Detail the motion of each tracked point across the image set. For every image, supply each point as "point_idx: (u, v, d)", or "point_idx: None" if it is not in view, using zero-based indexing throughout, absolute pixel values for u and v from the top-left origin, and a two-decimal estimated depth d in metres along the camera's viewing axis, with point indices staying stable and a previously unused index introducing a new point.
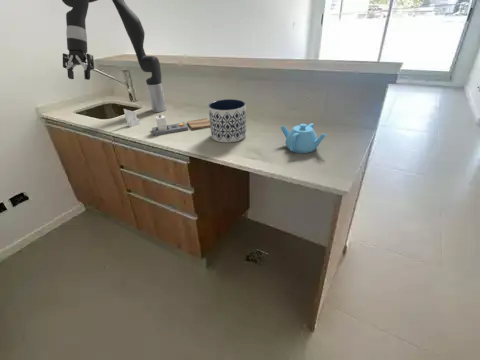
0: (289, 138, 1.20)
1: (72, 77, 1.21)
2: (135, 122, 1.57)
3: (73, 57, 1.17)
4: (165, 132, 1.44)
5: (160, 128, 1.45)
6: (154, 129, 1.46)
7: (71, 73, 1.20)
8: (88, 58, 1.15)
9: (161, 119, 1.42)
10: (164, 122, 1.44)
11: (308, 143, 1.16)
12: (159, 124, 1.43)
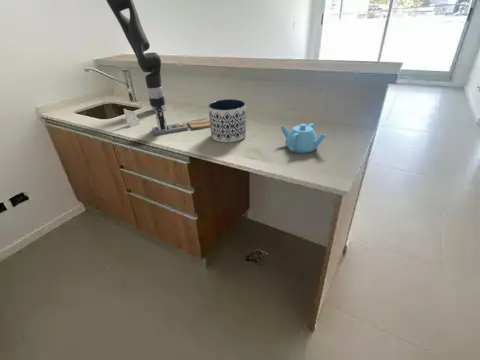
0: (289, 138, 1.20)
1: None
2: (135, 122, 1.57)
3: None
4: (165, 132, 1.44)
5: (160, 128, 1.45)
6: (154, 129, 1.46)
7: None
8: None
9: (161, 119, 1.42)
10: (164, 122, 1.44)
11: (308, 143, 1.16)
12: (159, 124, 1.43)
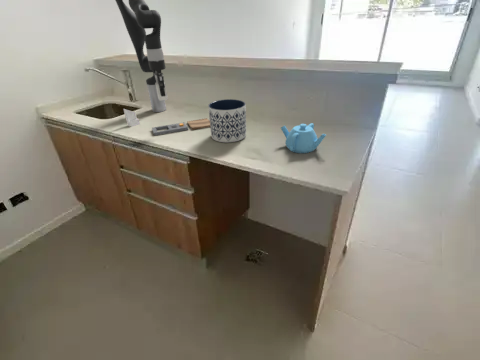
0: (289, 138, 1.20)
1: None
2: (135, 122, 1.57)
3: None
4: (165, 132, 1.44)
5: (160, 95, 1.37)
6: (154, 129, 1.46)
7: None
8: None
9: (161, 85, 1.34)
10: (164, 88, 1.36)
11: (308, 143, 1.16)
12: (159, 90, 1.35)
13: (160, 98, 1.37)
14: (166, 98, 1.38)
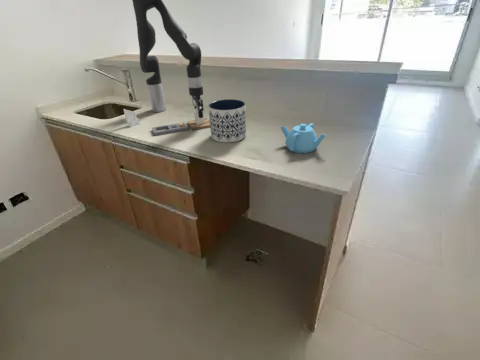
0: (289, 138, 1.20)
1: None
2: (135, 122, 1.57)
3: None
4: (165, 132, 1.44)
5: (198, 119, 1.50)
6: (154, 129, 1.46)
7: None
8: None
9: None
10: None
11: (308, 143, 1.16)
12: (197, 116, 1.49)
13: (198, 122, 1.51)
14: (203, 122, 1.52)
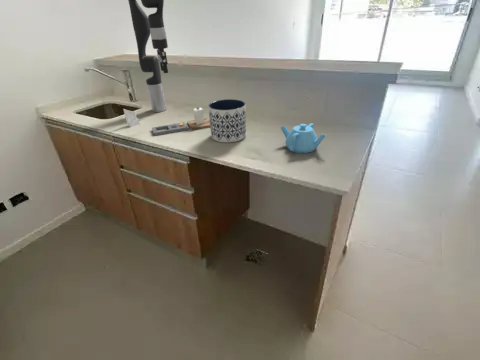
0: (289, 138, 1.20)
1: None
2: (135, 122, 1.57)
3: None
4: (165, 132, 1.44)
5: (198, 119, 1.50)
6: (154, 129, 1.46)
7: None
8: None
9: (199, 111, 1.48)
10: (202, 114, 1.50)
11: (308, 143, 1.16)
12: (197, 116, 1.49)
13: (198, 122, 1.51)
14: (203, 122, 1.52)
